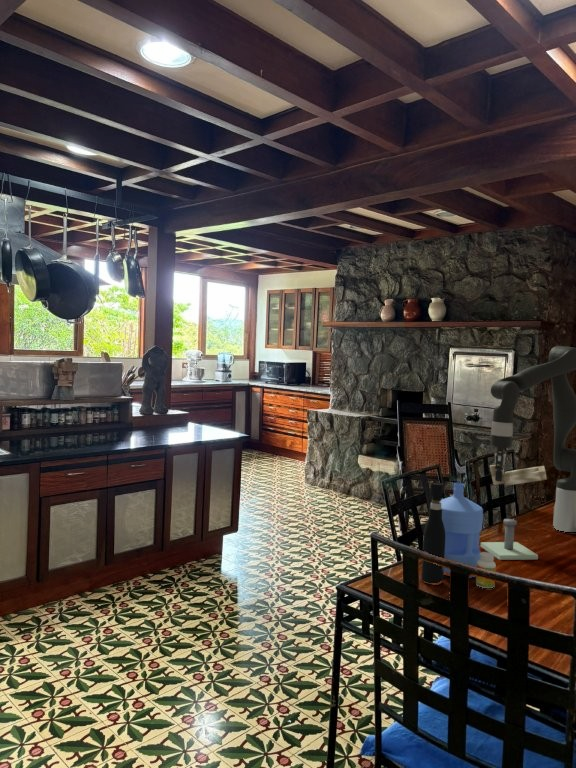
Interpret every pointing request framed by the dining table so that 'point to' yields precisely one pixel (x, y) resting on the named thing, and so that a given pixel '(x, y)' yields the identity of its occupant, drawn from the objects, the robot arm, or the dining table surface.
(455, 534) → the water jug
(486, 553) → the supplement bottle
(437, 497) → the wine bottle
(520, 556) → the post base plate
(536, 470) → the birch loop
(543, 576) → the dining table surface
